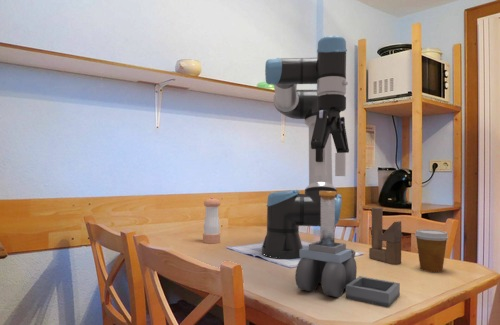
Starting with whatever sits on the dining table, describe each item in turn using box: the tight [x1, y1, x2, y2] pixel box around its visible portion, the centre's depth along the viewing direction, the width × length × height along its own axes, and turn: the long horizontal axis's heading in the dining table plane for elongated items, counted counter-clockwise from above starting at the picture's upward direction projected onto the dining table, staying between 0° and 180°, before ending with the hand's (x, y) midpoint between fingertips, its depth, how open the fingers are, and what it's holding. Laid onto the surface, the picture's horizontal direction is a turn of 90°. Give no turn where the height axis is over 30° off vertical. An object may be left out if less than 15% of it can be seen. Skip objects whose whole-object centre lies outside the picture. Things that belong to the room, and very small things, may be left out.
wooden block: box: [368, 206, 402, 266], centre depth 128 cm, size 4×11×18 cm, turn 31°
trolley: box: [295, 240, 357, 298], centre depth 97 cm, size 11×16×12 cm
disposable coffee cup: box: [414, 228, 449, 273], centre depth 117 cm, size 10×10×12 cm
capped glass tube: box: [319, 191, 336, 247], centre depth 97 cm, size 4×4×15 cm
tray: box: [345, 276, 401, 308], centre depth 90 cm, size 10×10×3 cm
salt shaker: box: [202, 196, 221, 244], centre depth 159 cm, size 7×7×19 cm
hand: (330, 176), depth 98 cm, fingers open, 13 cm apart
